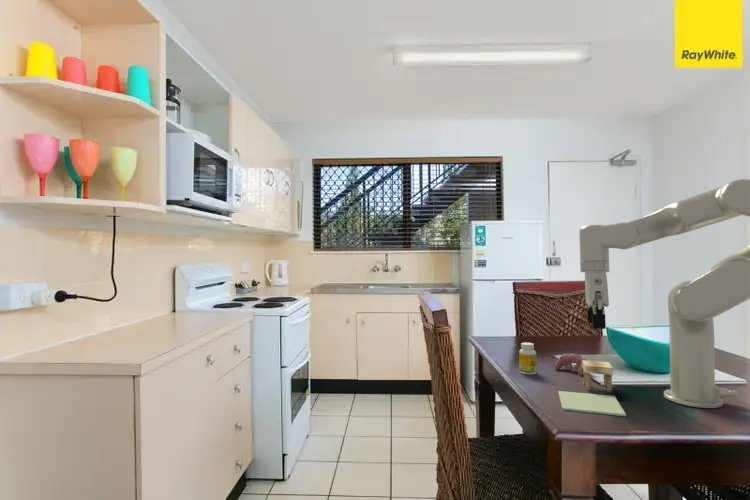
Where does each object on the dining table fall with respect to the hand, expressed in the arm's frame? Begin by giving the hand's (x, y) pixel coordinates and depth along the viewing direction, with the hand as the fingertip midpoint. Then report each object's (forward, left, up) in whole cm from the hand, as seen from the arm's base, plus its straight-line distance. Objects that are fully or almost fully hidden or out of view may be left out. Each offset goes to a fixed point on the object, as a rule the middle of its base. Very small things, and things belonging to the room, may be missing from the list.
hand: (596, 325), depth 124 cm
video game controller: (+5, -17, -19) cm, 25 cm away
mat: (+4, +15, -18) cm, 24 cm away
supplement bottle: (+19, -11, -18) cm, 29 cm away
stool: (0, 0, -18) cm, 18 cm away
